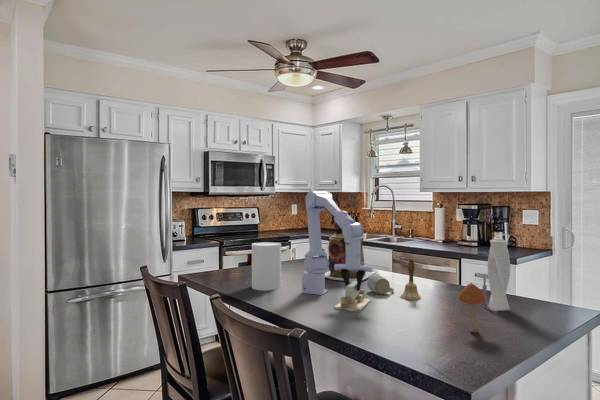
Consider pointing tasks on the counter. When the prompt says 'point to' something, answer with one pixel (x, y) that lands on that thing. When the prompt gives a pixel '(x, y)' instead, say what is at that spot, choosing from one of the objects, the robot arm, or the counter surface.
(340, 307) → the display stand
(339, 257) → the cookie jar
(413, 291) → the hand bell
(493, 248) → the white twisted vase
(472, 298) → the mushroom
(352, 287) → the glasses case
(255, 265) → the canister
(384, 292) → the ceramic mug
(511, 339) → the counter surface
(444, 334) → the counter surface
